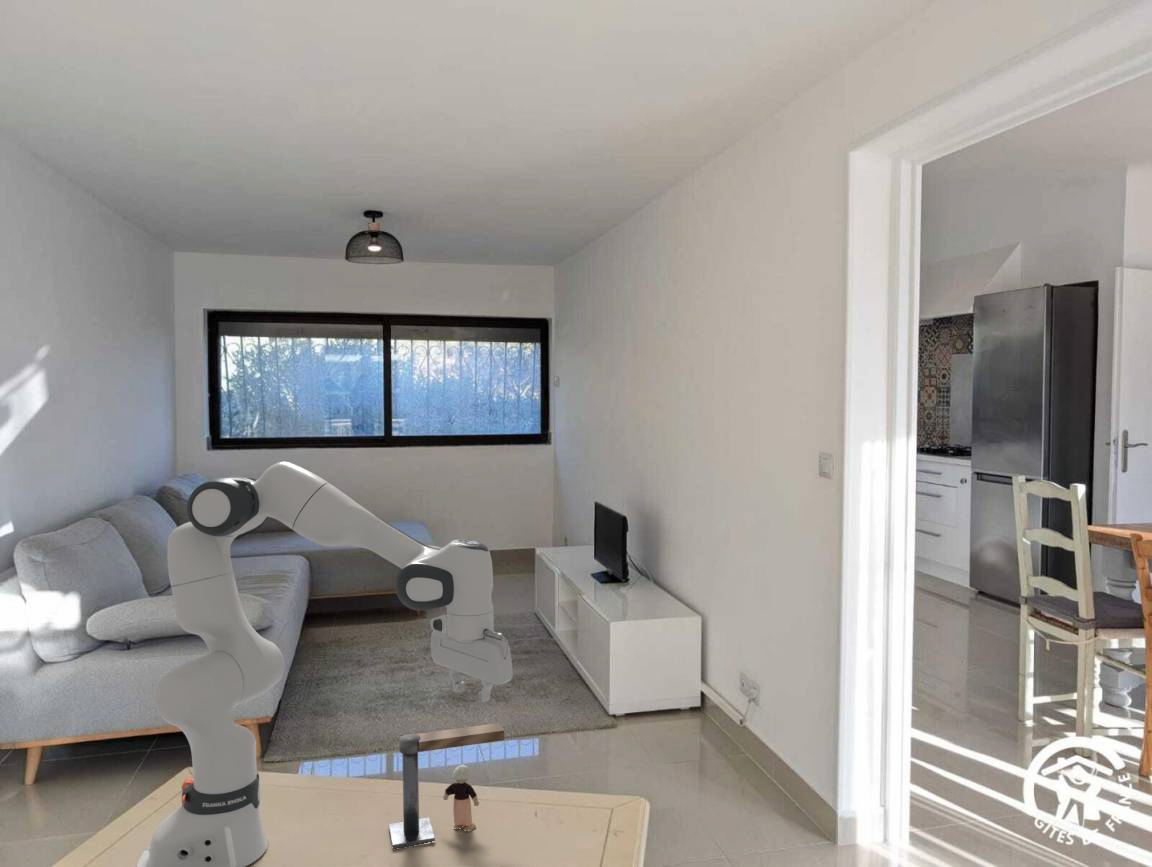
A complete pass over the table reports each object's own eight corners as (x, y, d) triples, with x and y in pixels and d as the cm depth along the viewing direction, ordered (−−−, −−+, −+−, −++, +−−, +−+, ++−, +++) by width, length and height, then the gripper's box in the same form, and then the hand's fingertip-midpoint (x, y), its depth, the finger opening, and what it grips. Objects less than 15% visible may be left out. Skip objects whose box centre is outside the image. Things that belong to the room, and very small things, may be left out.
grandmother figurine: (482, 823, 167) (481, 762, 166) (478, 833, 163) (477, 770, 162) (445, 821, 168) (444, 760, 167) (440, 831, 164) (439, 769, 163)
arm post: (392, 849, 157) (391, 763, 156) (388, 828, 165) (387, 746, 164) (434, 842, 160) (433, 757, 159) (428, 822, 167) (427, 740, 166)
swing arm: (400, 755, 159) (400, 743, 159) (398, 747, 163) (398, 735, 162) (504, 741, 165) (504, 729, 165) (499, 733, 169) (499, 721, 169)
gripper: (520, 631, 152) (520, 704, 153) (450, 612, 166) (451, 679, 167) (494, 639, 148) (495, 714, 148) (424, 618, 161) (426, 687, 162)
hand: (471, 695), depth 158 cm, fingers open, 6 cm apart
